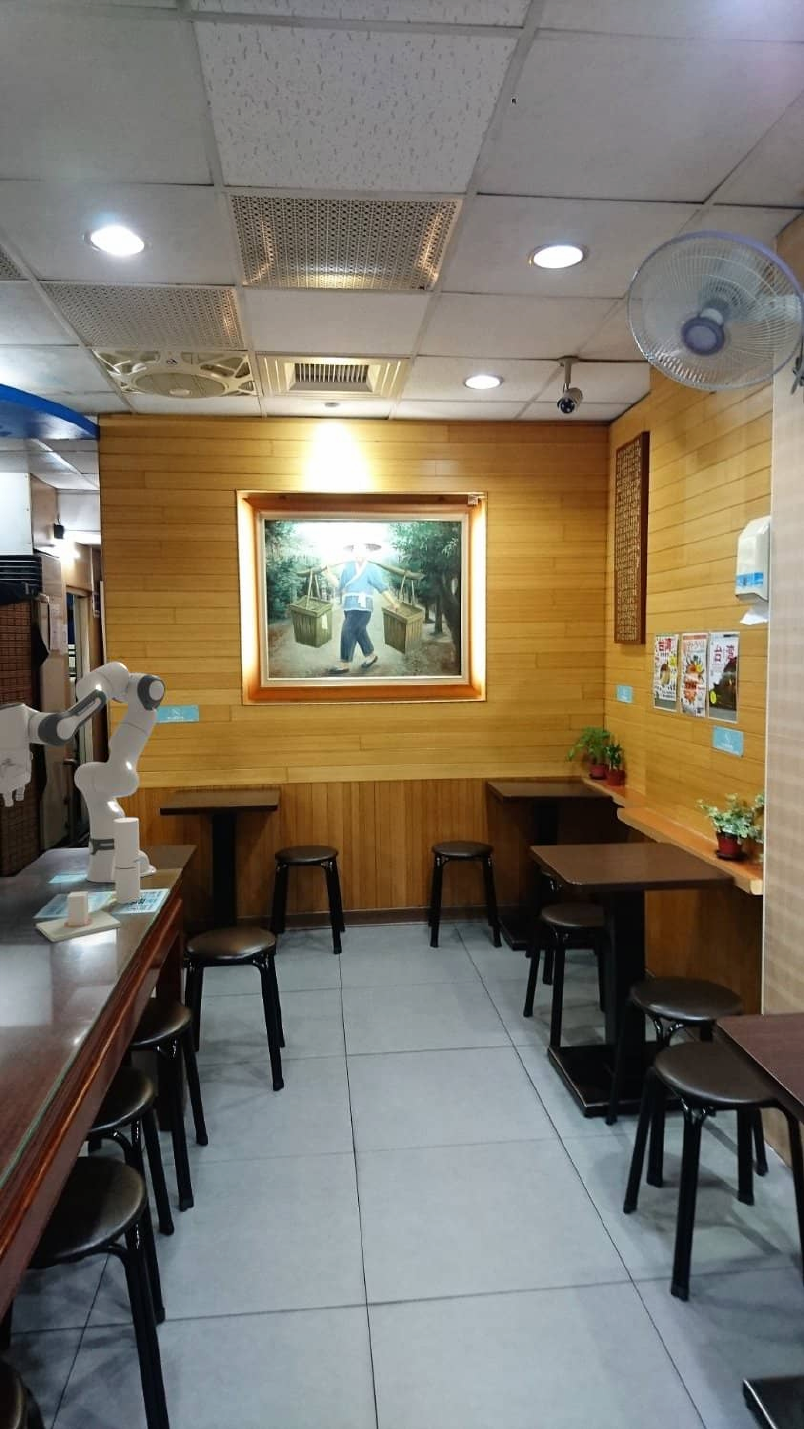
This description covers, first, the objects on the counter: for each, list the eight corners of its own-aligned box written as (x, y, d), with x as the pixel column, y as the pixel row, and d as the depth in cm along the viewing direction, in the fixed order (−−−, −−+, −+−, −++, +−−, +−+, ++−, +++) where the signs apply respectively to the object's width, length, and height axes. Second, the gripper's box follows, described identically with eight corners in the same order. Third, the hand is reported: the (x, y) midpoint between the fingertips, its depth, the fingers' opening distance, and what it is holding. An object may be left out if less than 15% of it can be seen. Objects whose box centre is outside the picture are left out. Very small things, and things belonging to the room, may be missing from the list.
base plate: (101, 914, 226) (101, 893, 226) (120, 926, 216) (120, 904, 215) (36, 928, 214) (35, 906, 214) (52, 942, 204) (52, 919, 203)
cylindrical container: (145, 898, 241) (143, 818, 239) (128, 904, 235) (126, 823, 233) (128, 895, 244) (126, 816, 242) (110, 901, 238) (108, 821, 236)
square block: (68, 925, 212) (67, 896, 212) (72, 920, 217) (71, 892, 216) (84, 924, 213) (84, 896, 212) (88, 919, 217) (87, 891, 217)
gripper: (12, 761, 221) (14, 809, 222) (34, 752, 241) (35, 796, 242) (-12, 762, 220) (-10, 810, 221) (12, 753, 240) (14, 797, 241)
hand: (14, 803), depth 232 cm, fingers open, 8 cm apart
